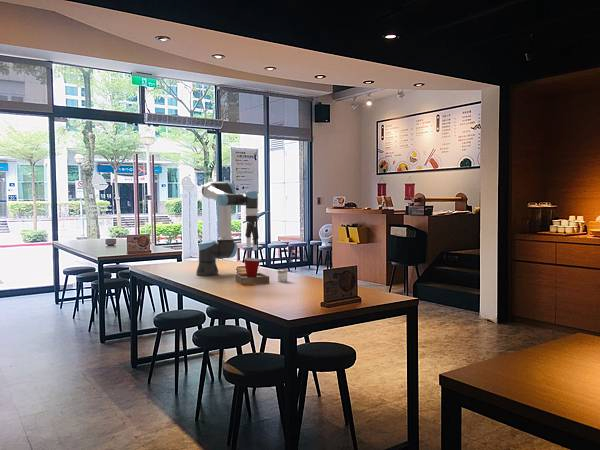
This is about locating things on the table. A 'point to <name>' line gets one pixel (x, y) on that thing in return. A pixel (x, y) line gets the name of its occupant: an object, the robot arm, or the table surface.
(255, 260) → the plastic cup
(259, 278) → the walnut riser
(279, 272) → the ceramic sugar jar
